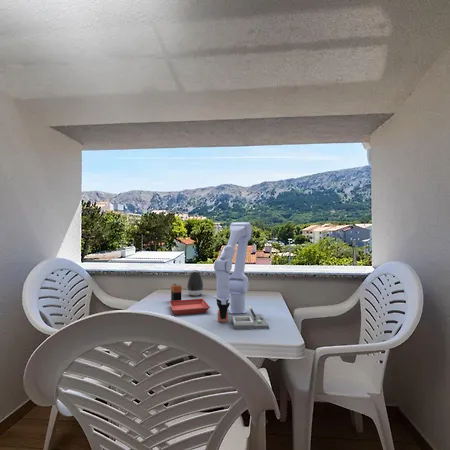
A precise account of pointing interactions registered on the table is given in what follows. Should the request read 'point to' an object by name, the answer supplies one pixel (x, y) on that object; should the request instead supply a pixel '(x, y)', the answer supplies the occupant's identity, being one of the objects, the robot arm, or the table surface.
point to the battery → (175, 292)
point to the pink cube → (220, 318)
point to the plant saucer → (189, 306)
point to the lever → (252, 312)
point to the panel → (248, 321)
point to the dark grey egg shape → (195, 283)
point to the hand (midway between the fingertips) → (222, 316)
